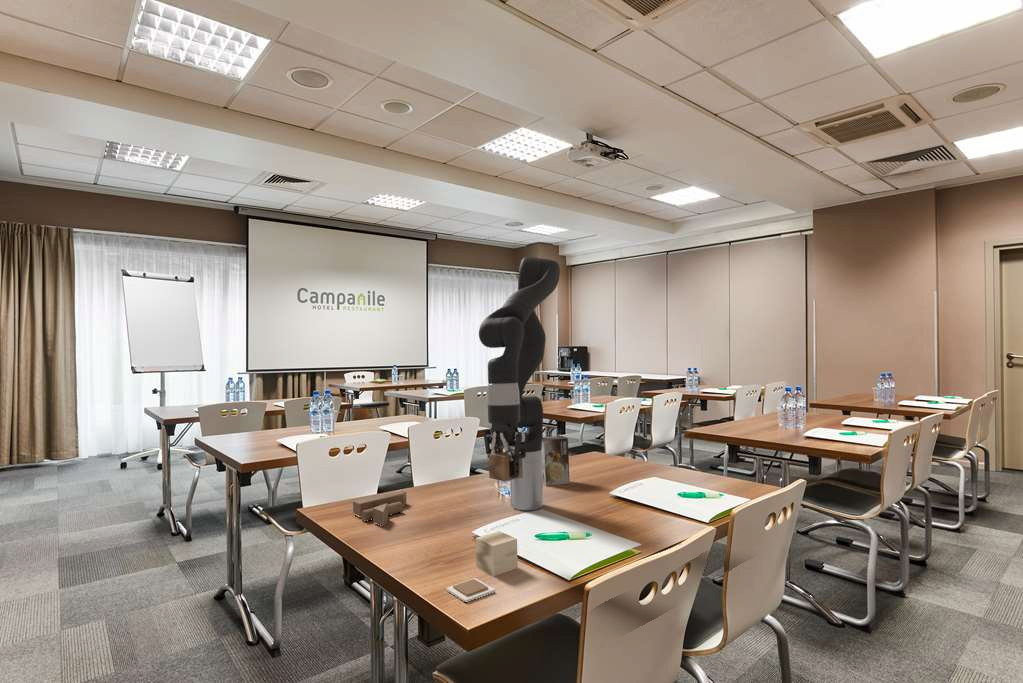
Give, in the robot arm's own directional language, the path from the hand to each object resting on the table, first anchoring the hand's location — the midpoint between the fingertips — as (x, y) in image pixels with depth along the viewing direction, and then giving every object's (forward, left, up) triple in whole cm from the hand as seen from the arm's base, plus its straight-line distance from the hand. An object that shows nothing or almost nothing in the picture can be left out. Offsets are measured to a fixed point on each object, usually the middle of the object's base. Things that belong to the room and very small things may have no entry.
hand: (505, 475), depth 125 cm
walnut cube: (0, 0, -1) cm, 1 cm away
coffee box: (-41, +53, -19) cm, 70 cm away
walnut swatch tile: (+10, -17, -19) cm, 27 cm away
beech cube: (+4, -6, -19) cm, 20 cm away
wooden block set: (-47, -6, -19) cm, 51 cm away
